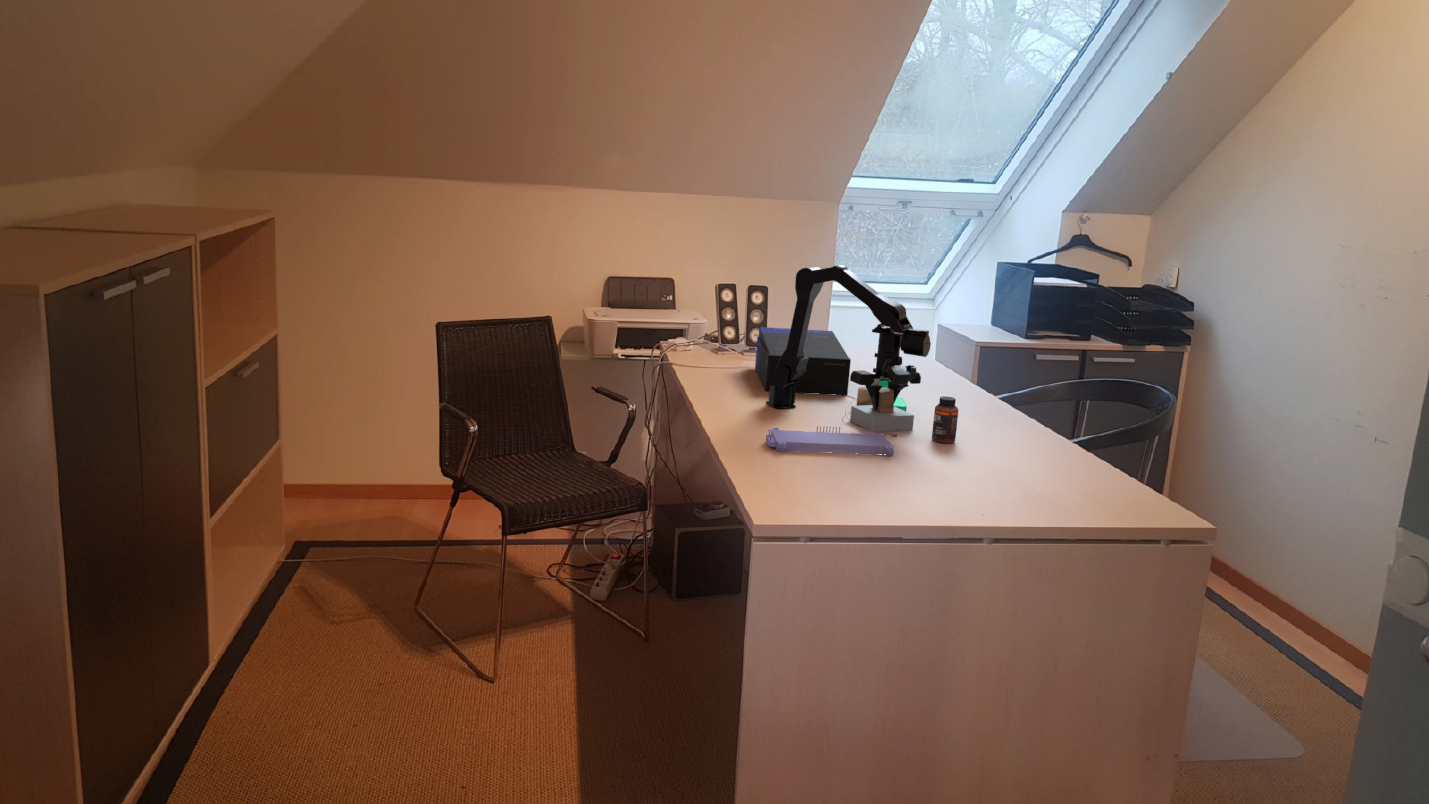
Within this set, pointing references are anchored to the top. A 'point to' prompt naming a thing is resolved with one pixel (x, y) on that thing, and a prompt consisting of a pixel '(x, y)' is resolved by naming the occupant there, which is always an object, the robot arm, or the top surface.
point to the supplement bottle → (945, 420)
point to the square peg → (885, 401)
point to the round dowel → (863, 397)
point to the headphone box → (824, 362)
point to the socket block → (881, 419)
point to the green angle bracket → (899, 400)
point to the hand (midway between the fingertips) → (882, 408)
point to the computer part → (829, 442)
